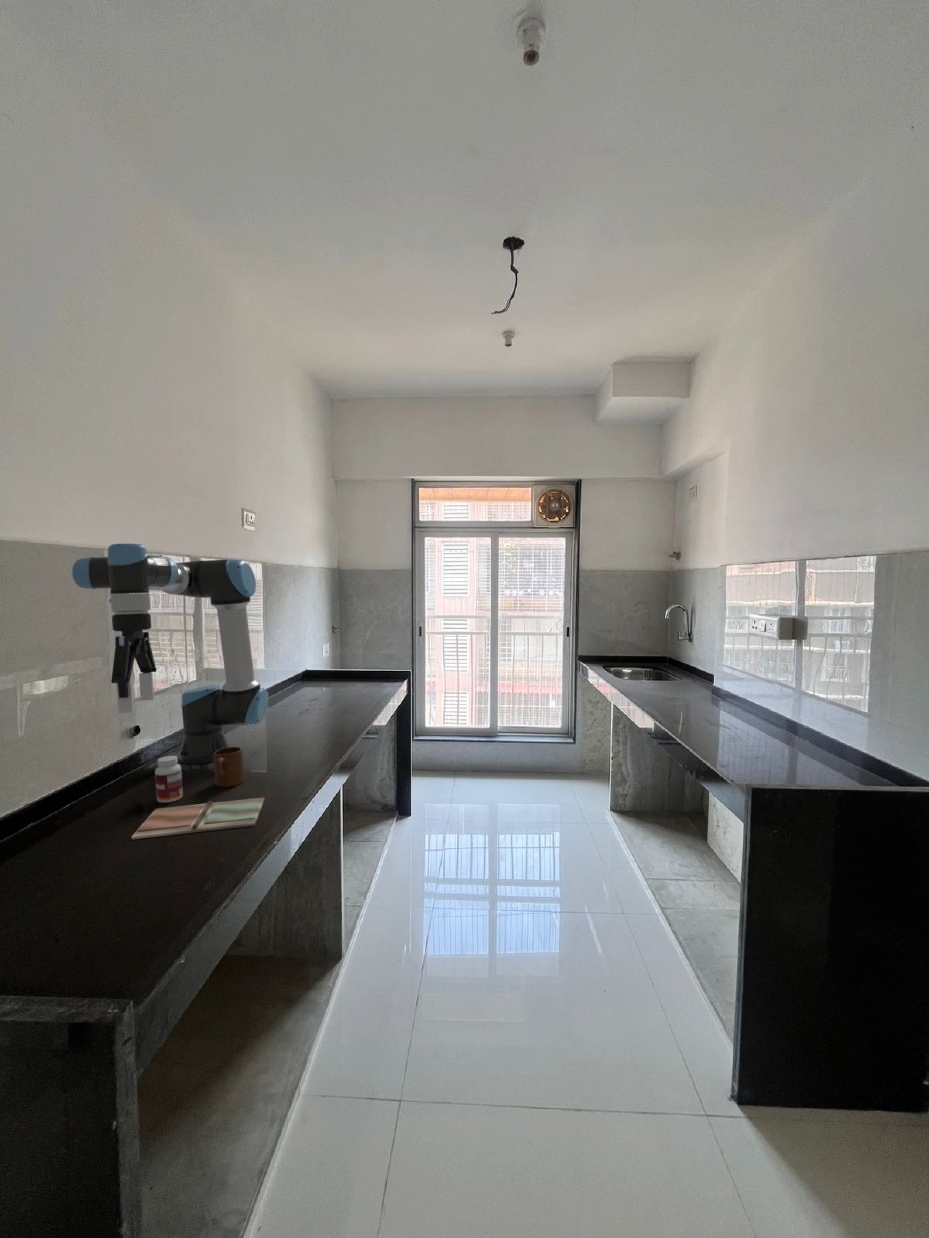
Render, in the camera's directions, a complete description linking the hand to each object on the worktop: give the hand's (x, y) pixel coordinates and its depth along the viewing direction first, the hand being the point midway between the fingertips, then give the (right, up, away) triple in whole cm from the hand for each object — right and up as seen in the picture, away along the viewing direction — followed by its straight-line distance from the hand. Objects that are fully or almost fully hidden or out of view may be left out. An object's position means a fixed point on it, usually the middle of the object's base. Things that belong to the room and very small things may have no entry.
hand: (137, 706), depth 126 cm
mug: (+8, -27, +30) cm, 41 cm away
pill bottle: (-4, -28, +21) cm, 35 cm away
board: (+11, -28, +8) cm, 32 cm away
